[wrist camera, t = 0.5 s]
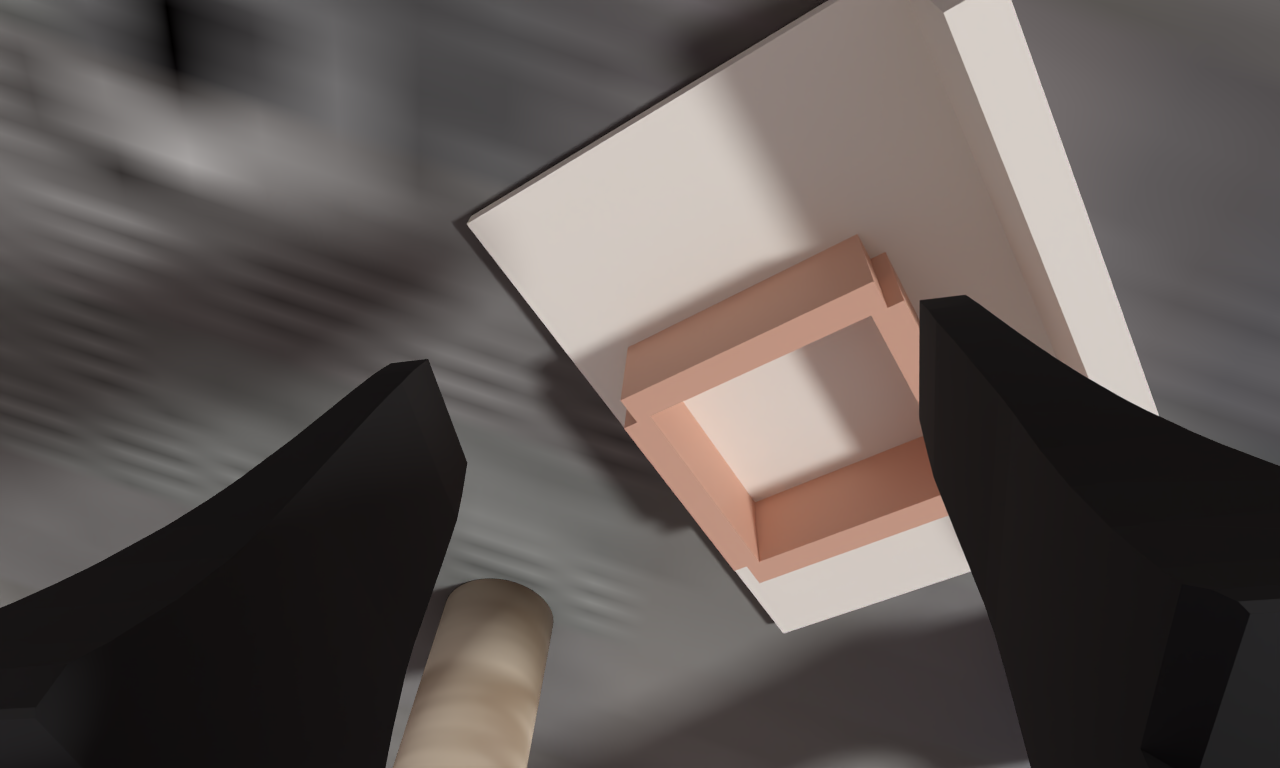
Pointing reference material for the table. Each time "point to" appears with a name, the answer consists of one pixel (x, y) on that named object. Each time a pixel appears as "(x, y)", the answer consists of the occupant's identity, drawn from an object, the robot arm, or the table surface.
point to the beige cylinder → (480, 680)
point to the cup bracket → (816, 281)
